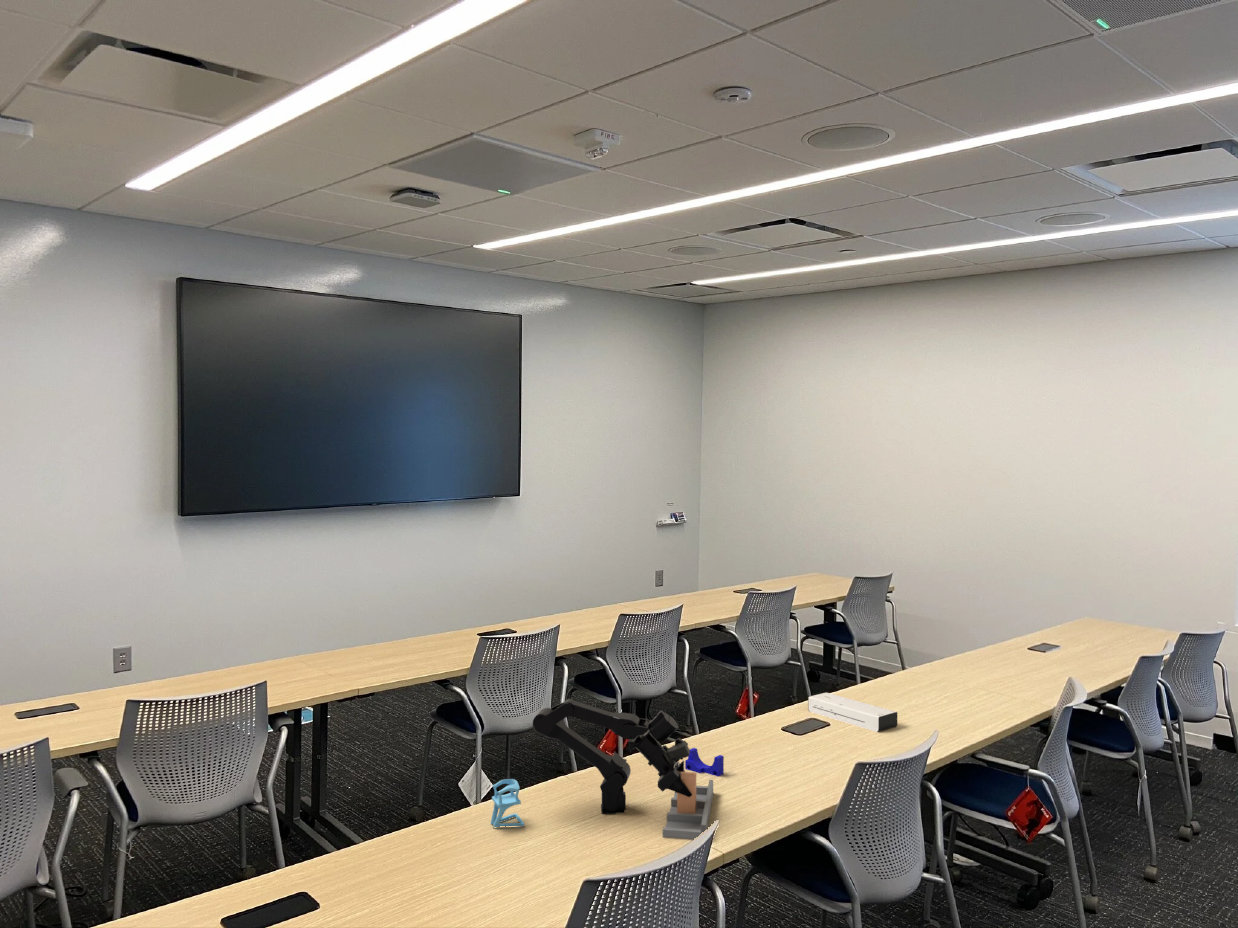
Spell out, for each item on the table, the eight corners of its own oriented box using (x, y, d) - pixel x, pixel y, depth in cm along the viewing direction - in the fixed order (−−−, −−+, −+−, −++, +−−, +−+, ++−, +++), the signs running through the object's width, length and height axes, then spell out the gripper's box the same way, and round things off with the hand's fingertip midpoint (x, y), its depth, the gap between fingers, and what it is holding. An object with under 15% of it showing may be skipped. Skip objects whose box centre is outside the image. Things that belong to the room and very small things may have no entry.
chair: (488, 821, 249) (487, 778, 249) (516, 816, 252) (516, 774, 252) (495, 832, 242) (495, 788, 242) (524, 826, 245) (524, 783, 245)
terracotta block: (677, 816, 251) (677, 777, 251) (678, 809, 256) (679, 771, 256) (694, 817, 250) (694, 778, 250) (696, 810, 255) (696, 772, 255)
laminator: (808, 711, 355) (808, 696, 355) (828, 706, 363) (828, 691, 363) (878, 733, 328) (879, 716, 328) (899, 727, 336) (899, 711, 335)
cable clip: (685, 769, 290) (685, 751, 290) (693, 765, 294) (693, 747, 293) (715, 778, 282) (715, 759, 282) (723, 774, 286) (723, 755, 286)
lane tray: (662, 838, 238) (662, 821, 238) (675, 791, 270) (675, 777, 270) (705, 841, 236) (705, 825, 236) (713, 794, 268) (713, 779, 268)
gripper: (669, 743, 244) (709, 785, 243) (676, 722, 263) (713, 762, 261) (641, 769, 246) (680, 812, 244) (650, 747, 264) (687, 787, 262)
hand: (691, 792), depth 253 cm, fingers closed on terracotta block, 5 cm apart
